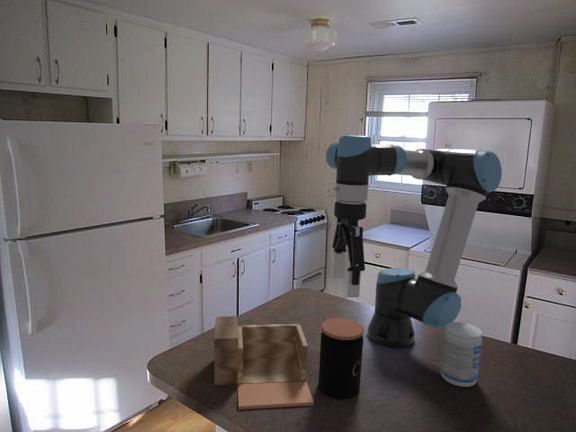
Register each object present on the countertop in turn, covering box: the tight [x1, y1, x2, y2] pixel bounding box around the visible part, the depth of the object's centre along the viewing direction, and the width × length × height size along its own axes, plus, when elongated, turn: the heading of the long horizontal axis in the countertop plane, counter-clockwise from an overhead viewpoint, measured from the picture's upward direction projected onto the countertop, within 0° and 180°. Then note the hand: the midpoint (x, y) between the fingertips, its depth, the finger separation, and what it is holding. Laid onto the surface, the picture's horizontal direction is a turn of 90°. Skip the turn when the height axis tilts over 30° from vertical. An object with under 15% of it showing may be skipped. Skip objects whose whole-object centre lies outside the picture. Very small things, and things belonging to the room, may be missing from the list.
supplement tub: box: [440, 321, 483, 388], centre depth 117 cm, size 10×10×15 cm
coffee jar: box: [317, 317, 365, 401], centre depth 109 cm, size 11×11×18 cm
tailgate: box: [237, 380, 315, 410], centre depth 106 cm, size 18×1×10 cm
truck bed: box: [213, 315, 309, 386], centre depth 116 cm, size 24×13×14 cm, turn 98°
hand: (345, 286), depth 105 cm, fingers open, 13 cm apart
